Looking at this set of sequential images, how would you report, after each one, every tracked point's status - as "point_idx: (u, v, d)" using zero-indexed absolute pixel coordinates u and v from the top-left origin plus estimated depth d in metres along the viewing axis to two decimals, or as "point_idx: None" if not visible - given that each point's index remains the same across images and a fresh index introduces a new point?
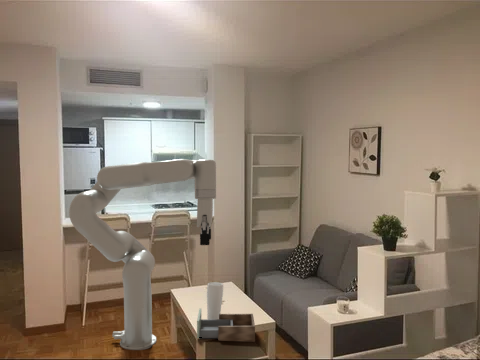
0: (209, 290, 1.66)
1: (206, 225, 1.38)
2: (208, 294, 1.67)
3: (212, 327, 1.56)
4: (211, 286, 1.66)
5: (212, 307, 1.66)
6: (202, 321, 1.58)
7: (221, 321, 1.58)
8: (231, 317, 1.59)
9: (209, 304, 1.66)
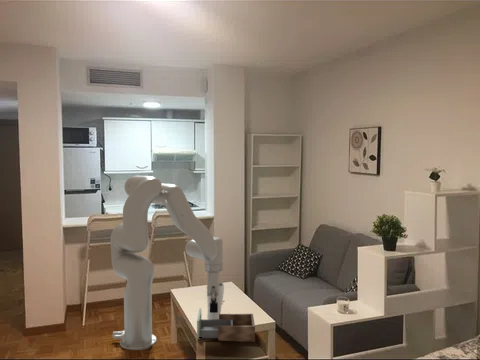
0: None
1: (215, 295, 1.64)
2: None
3: (212, 327, 1.56)
4: None
5: None
6: (202, 321, 1.58)
7: (221, 321, 1.58)
8: (231, 317, 1.59)
9: (209, 304, 1.66)
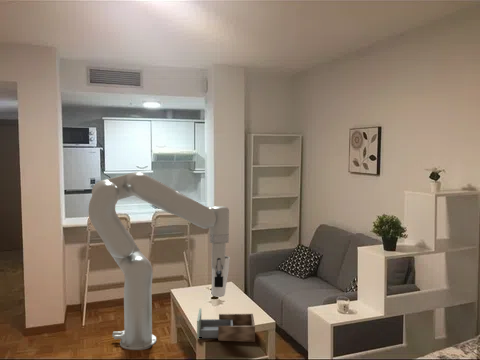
0: None
1: None
2: (213, 268, 1.53)
3: (212, 327, 1.56)
4: None
5: None
6: (202, 321, 1.58)
7: (221, 321, 1.58)
8: (231, 317, 1.59)
9: (214, 278, 1.53)
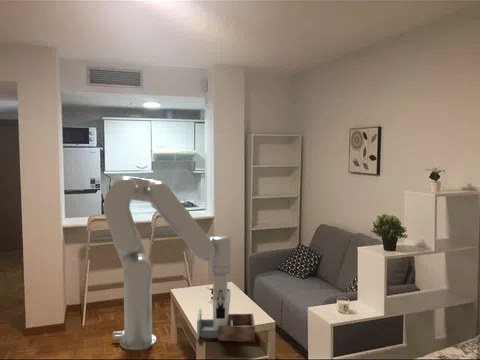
0: None
1: (222, 300, 1.49)
2: (214, 301, 1.52)
3: (212, 327, 1.56)
4: None
5: None
6: (202, 321, 1.58)
7: None
8: (231, 317, 1.59)
9: (215, 312, 1.51)
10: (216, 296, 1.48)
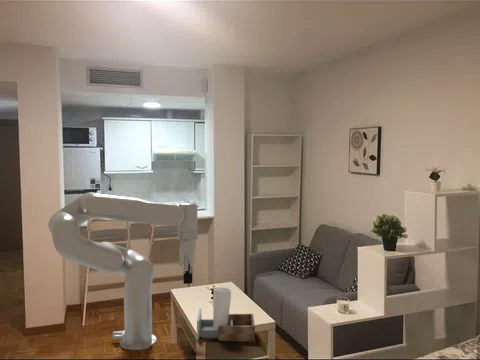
0: (216, 297, 1.51)
1: (188, 266, 1.50)
2: (214, 301, 1.52)
3: (212, 327, 1.56)
4: (218, 292, 1.51)
5: (219, 315, 1.51)
6: (202, 321, 1.58)
7: None
8: (231, 317, 1.59)
9: (215, 312, 1.51)
10: None
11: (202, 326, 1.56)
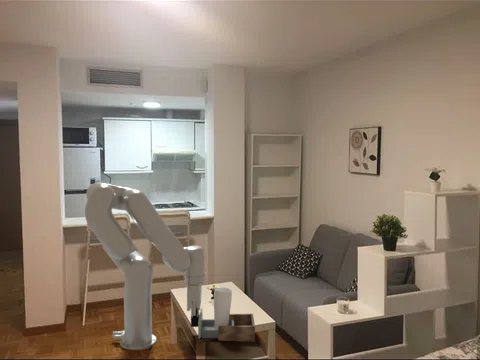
0: (216, 297, 1.51)
1: (196, 310, 1.51)
2: (215, 301, 1.52)
3: (213, 327, 1.56)
4: (219, 292, 1.51)
5: (220, 315, 1.51)
6: (203, 321, 1.58)
7: None
8: (231, 317, 1.59)
9: (216, 312, 1.51)
10: None
11: (203, 326, 1.56)
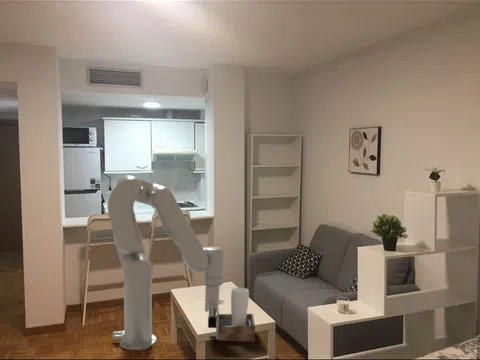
0: (234, 297, 1.52)
1: (213, 311, 1.51)
2: (233, 301, 1.52)
3: None
4: (236, 292, 1.51)
5: (237, 315, 1.51)
6: (220, 321, 1.58)
7: None
8: (231, 317, 1.59)
9: (233, 312, 1.52)
10: None
11: None
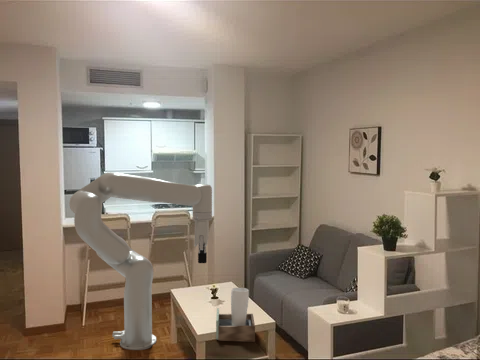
0: (234, 297, 1.52)
1: (203, 246, 1.54)
2: (233, 301, 1.52)
3: None
4: (236, 292, 1.51)
5: (237, 315, 1.51)
6: (220, 321, 1.58)
7: None
8: (231, 317, 1.59)
9: (233, 312, 1.52)
10: None
11: None
